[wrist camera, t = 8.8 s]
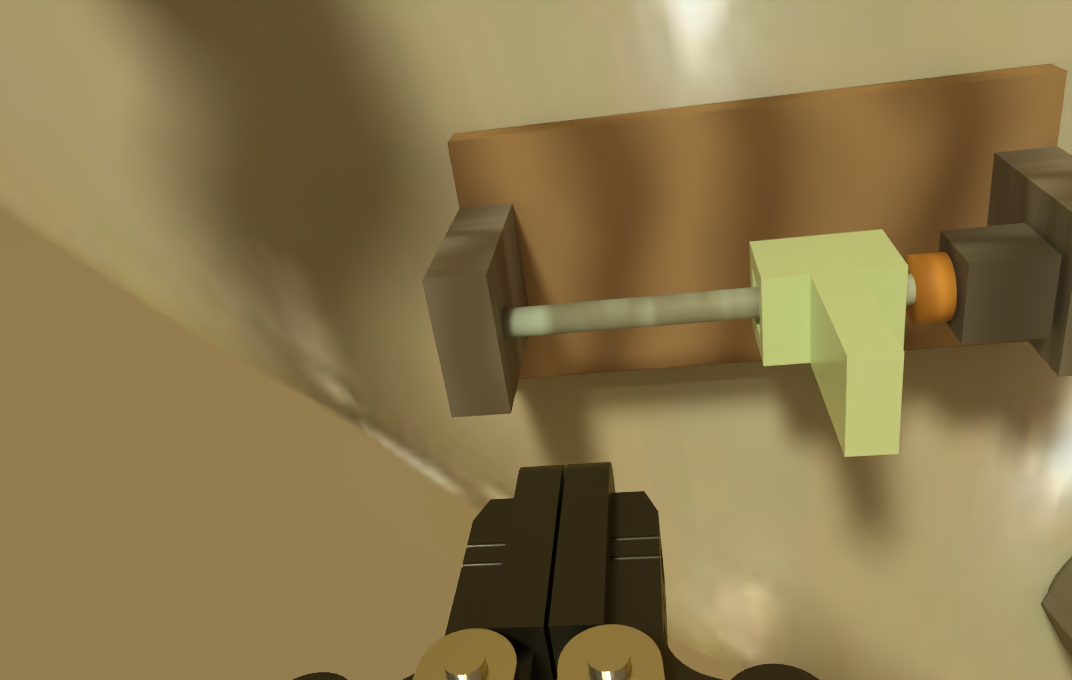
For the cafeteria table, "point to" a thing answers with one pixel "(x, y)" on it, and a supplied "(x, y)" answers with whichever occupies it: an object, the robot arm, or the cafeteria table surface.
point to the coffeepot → (1061, 604)
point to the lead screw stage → (750, 226)
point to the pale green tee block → (838, 326)
